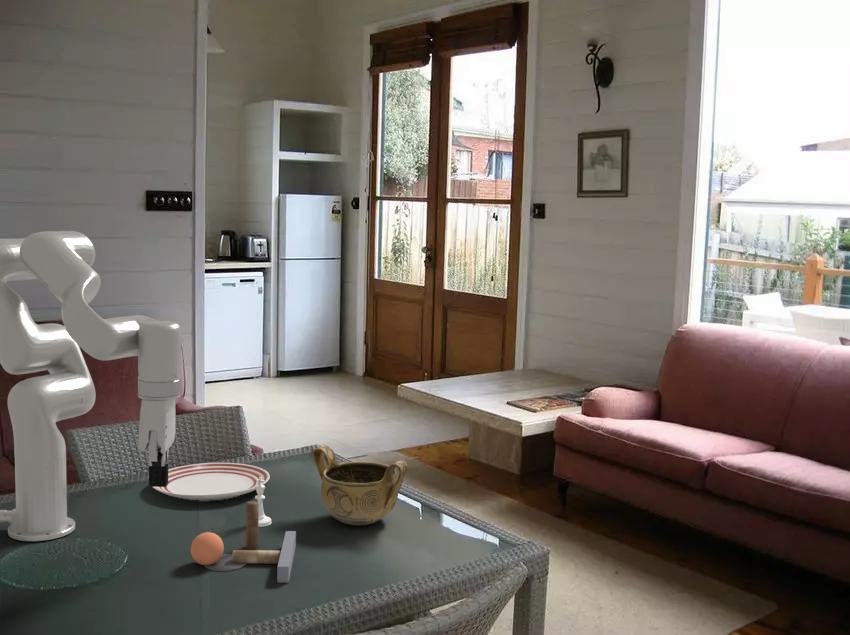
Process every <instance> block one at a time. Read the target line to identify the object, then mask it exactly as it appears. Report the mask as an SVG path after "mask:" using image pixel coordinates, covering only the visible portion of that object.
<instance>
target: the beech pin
mask: <svg viewBox="0 0 850 635" xmlns="http://www.w3.org/2000/svg"><path fill="white" fill-rule="evenodd" d="M231 554H232V563H247V564H266V565H267V564H269V565H270V564H277V565H278V562H279V558H280V554H281V550H274V549H273V550H271V549H270V550H267V549H265V550H263V549H262V550H261V549H260V550H259V549H253V550H250V549H233V550H232V553H231Z"/></svg>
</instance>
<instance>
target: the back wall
mask: <svg viewBox="0 0 850 635" xmlns="http://www.w3.org/2000/svg"><path fill="white" fill-rule="evenodd" d="M296 543H297V531H295V530H287V531H285V533H284V538H283V542H282V546H281V549H280V551H281V554H280V558H279V562H278V564H277V570H276V573H277V577H276V583H277V584H278V583H279V584H282V583H284V584H288V583H290V577H291V571H292V566H293V563H294V557H295V553H296V552H295V551H296V546H297V544H296Z"/></svg>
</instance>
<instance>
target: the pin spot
mask: <svg viewBox="0 0 850 635" xmlns="http://www.w3.org/2000/svg"><path fill="white" fill-rule="evenodd" d="M232 554H233V553H223V554H222V556H221V558H220V559H219V560H218V561H217V562H216V563H214V564H212V565H203V567H204V568H206V569H208V570H210V571H213V572H230V571H231V572H232V571H237V570H239V569H242V568H244V567H245V566H247V564H248V563H232Z"/></svg>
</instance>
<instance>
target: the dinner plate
mask: <svg viewBox="0 0 850 635" xmlns="http://www.w3.org/2000/svg"><path fill="white" fill-rule="evenodd" d="M270 476H271V475H270V473H269V472H268V471H267V470H266V469H264V468H261V467H258V466H256V465H251V464H245V463H236V462H235V463H234V462H204V463H203V462H202V463H192V464H186V465H182V466H176V467H173V468H168V484H167V485H166V487H152V488H153V489H154V490H156V491H158V492H160V493H162V494H164V495H167V496H170V497H174V498H177V499H181V498H183V499H182V500H186V499H190V500H189V501H192V500H218V501H224V500H223V499H226V500H230V499H229V498H231V499H234V498H233V497H235V498H238V497H241V496H243V495H245V494H248V493H251V492H254V491H256V488H255V486H256V485H259V482H256V480H259V477H262V480H264V483H262V485H264V486H265V484H266V483H268V481H269V480H270V478H271V477H270ZM240 495H241V496H240ZM237 496H238V497H237Z"/></svg>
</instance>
